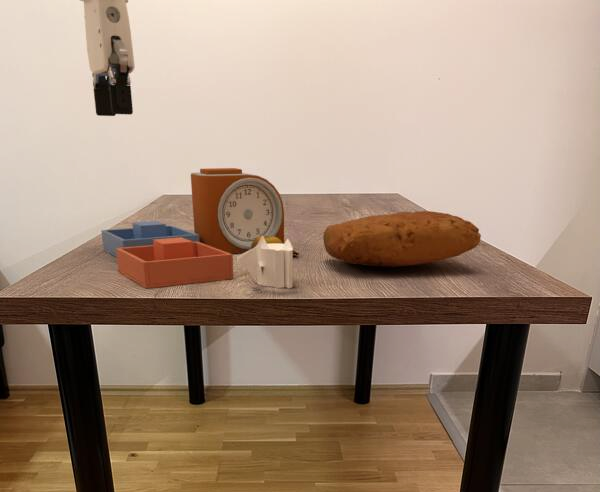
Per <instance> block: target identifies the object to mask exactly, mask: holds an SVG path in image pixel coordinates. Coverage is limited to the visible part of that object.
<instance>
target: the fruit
mask: <svg viewBox="0 0 600 492" xmlns="http://www.w3.org/2000/svg"><path fill="white" fill-rule="evenodd" d="M261 237H262V236H258V237H257V238H255V239H254V241H253V243H252V245H251V249H253V248H254V247H256V246H257V244H258V243H259V241H260V239H261ZM263 237H264V239H265V241H266V243H267V244H271V243H279V244H283V243H282V242H281V240H280V239H278V238H276V237H269V236H266V235H265V236H263ZM299 255H300V252H299V251H298V250H293V256H294V257H298V256H299Z"/></svg>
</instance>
